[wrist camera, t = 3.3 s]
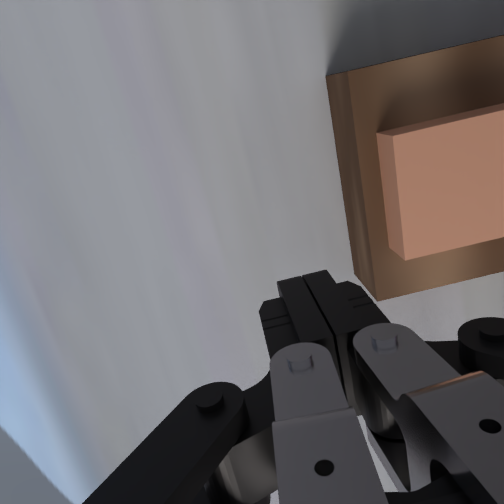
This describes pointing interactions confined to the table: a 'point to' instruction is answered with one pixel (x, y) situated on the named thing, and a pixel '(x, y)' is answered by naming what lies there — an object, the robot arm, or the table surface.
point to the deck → (368, 166)
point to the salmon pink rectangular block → (444, 182)
